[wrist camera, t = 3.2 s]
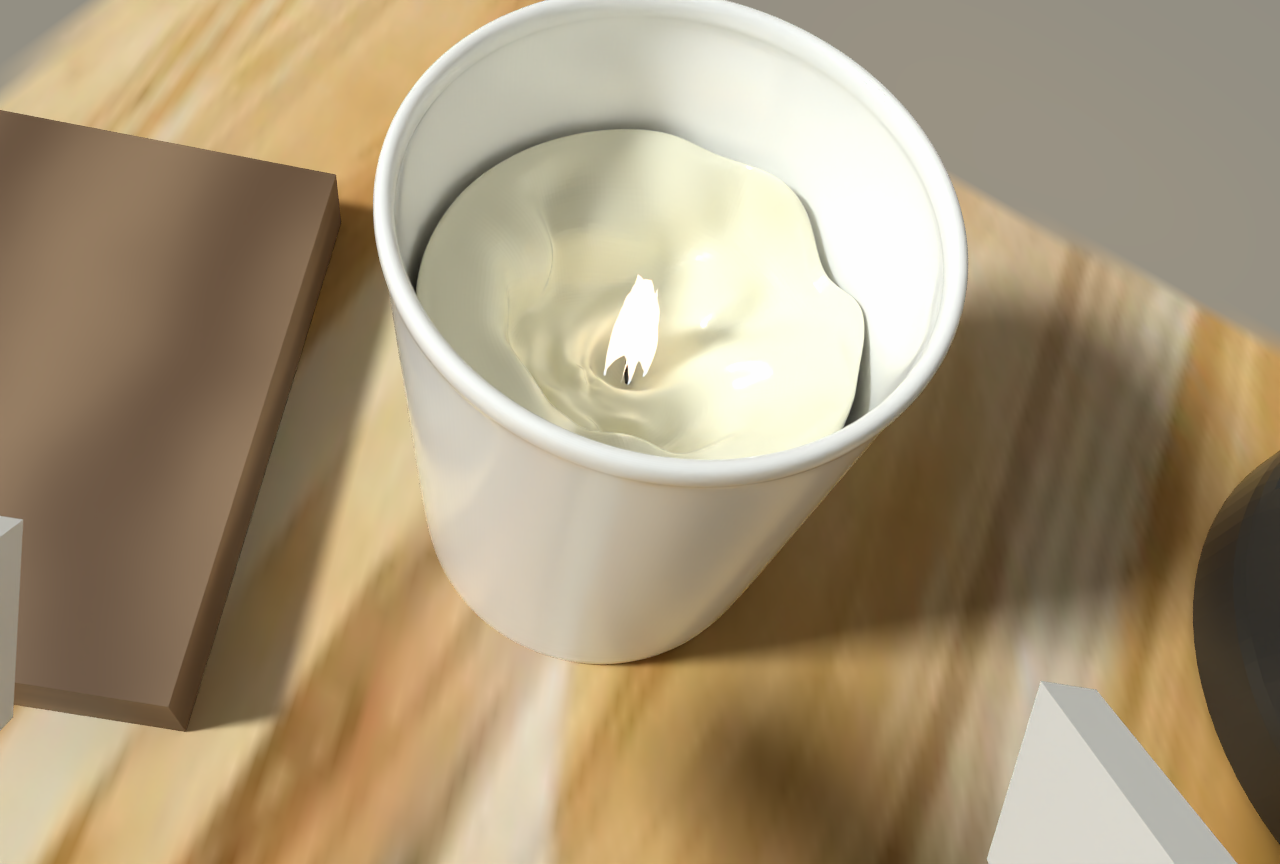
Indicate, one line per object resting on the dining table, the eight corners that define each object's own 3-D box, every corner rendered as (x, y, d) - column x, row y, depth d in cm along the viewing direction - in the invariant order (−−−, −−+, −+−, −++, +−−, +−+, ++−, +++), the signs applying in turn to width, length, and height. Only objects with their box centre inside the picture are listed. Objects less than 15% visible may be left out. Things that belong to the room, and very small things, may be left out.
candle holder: (680, 293, 34) (792, -62, 23) (858, 605, 30) (1085, 352, 20) (335, 407, 30) (285, 55, 20) (488, 770, 27) (524, 573, 16)
